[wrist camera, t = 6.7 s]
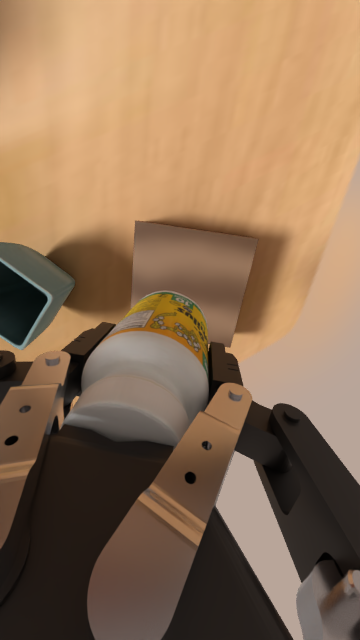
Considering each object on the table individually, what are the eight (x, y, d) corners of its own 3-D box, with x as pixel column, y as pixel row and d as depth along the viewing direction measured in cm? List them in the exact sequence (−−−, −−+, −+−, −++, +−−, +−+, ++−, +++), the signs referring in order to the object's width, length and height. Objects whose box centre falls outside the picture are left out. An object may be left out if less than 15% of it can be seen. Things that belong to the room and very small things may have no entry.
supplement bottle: (117, 307, 15) (-3, 411, 7) (188, 275, 14) (156, 351, 5) (153, 369, 17) (96, 520, 8) (220, 345, 16) (238, 496, 7)
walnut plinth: (144, 221, 27) (135, 220, 23) (251, 237, 27) (258, 239, 23) (138, 318, 32) (129, 330, 29) (227, 333, 32) (230, 347, 28)
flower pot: (94, 278, 31) (53, 297, 22) (66, 321, 34) (21, 352, 26) (38, 234, 29) (-28, 237, 21) (14, 284, 32) (-52, 304, 24)
